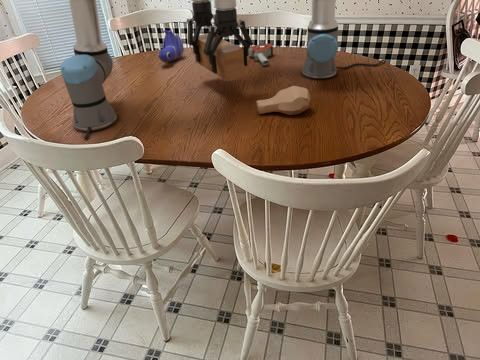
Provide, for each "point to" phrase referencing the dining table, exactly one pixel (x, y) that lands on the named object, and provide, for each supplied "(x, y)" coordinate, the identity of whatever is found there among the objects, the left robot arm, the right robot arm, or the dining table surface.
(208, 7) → the right robot arm
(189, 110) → the dining table surface
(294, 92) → the squash
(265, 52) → the tape dispenser
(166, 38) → the toy
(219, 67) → the box
